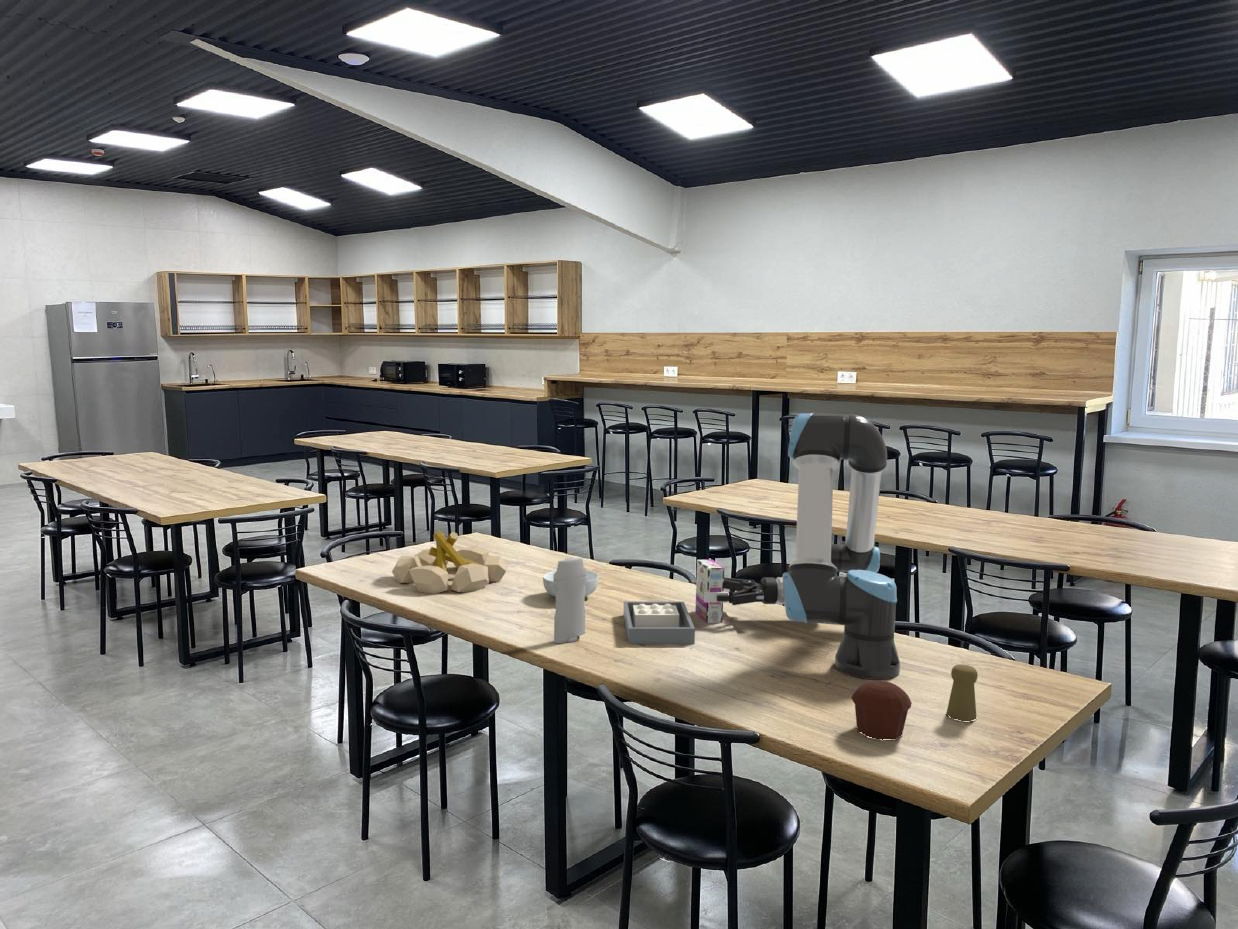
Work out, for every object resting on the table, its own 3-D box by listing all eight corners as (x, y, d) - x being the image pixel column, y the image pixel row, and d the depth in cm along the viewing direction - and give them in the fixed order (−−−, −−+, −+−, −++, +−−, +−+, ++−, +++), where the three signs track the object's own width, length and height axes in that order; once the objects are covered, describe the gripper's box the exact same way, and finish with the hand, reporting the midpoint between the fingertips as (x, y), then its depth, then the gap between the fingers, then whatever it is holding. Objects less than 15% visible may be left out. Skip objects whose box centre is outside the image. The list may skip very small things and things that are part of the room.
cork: (969, 710, 190) (972, 661, 189) (981, 722, 184) (985, 671, 183) (941, 710, 190) (944, 661, 188) (953, 722, 184) (956, 671, 182)
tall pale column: (557, 646, 226) (558, 562, 223) (548, 641, 230) (549, 558, 227) (590, 637, 233) (591, 556, 230) (581, 633, 236) (582, 553, 233)
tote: (694, 647, 227) (695, 628, 226) (628, 647, 226) (628, 628, 225) (683, 618, 251) (683, 601, 250) (623, 618, 250) (623, 601, 249)
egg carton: (679, 627, 240) (679, 611, 239) (634, 627, 239) (635, 611, 238) (675, 617, 248) (675, 601, 248) (632, 617, 248) (633, 601, 247)
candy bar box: (723, 625, 245) (725, 568, 243) (706, 626, 244) (707, 568, 242) (711, 613, 256) (712, 558, 254) (694, 614, 255) (695, 559, 253)
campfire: (377, 578, 289) (376, 527, 287) (466, 562, 312) (465, 515, 310) (432, 602, 264) (432, 546, 261) (525, 583, 286) (525, 531, 284)
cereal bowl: (588, 588, 281) (588, 566, 280) (606, 602, 265) (606, 579, 264) (536, 592, 275) (536, 570, 274) (551, 607, 259) (552, 584, 258)
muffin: (852, 740, 175) (854, 692, 173) (846, 717, 185) (849, 672, 184) (914, 746, 173) (917, 697, 171) (905, 722, 184) (908, 676, 182)
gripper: (785, 616, 238) (706, 616, 237) (766, 591, 263) (694, 591, 262) (786, 589, 237) (707, 589, 236) (767, 566, 262) (695, 566, 261)
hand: (700, 590), depth 249 cm, fingers open, 12 cm apart
